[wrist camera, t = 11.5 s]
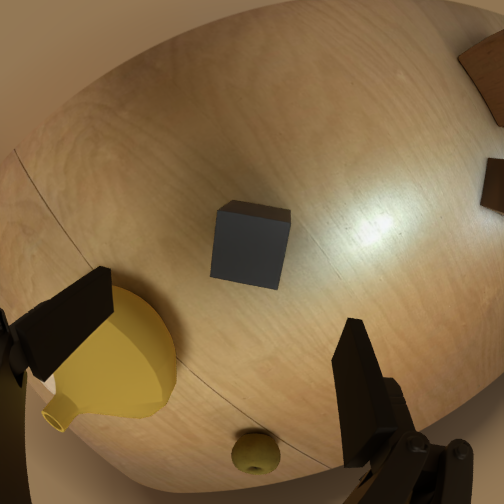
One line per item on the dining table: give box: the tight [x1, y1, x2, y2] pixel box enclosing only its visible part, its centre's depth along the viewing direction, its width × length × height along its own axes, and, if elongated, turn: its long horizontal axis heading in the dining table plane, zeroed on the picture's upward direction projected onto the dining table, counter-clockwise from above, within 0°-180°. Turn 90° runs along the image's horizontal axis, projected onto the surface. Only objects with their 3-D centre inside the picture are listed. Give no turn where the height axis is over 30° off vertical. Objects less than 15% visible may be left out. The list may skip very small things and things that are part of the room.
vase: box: [42, 285, 177, 432], centre depth 26 cm, size 18×18×19 cm
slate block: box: [210, 200, 291, 290], centre depth 26 cm, size 6×6×6 cm
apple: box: [231, 433, 280, 475], centre depth 37 cm, size 8×8×7 cm
